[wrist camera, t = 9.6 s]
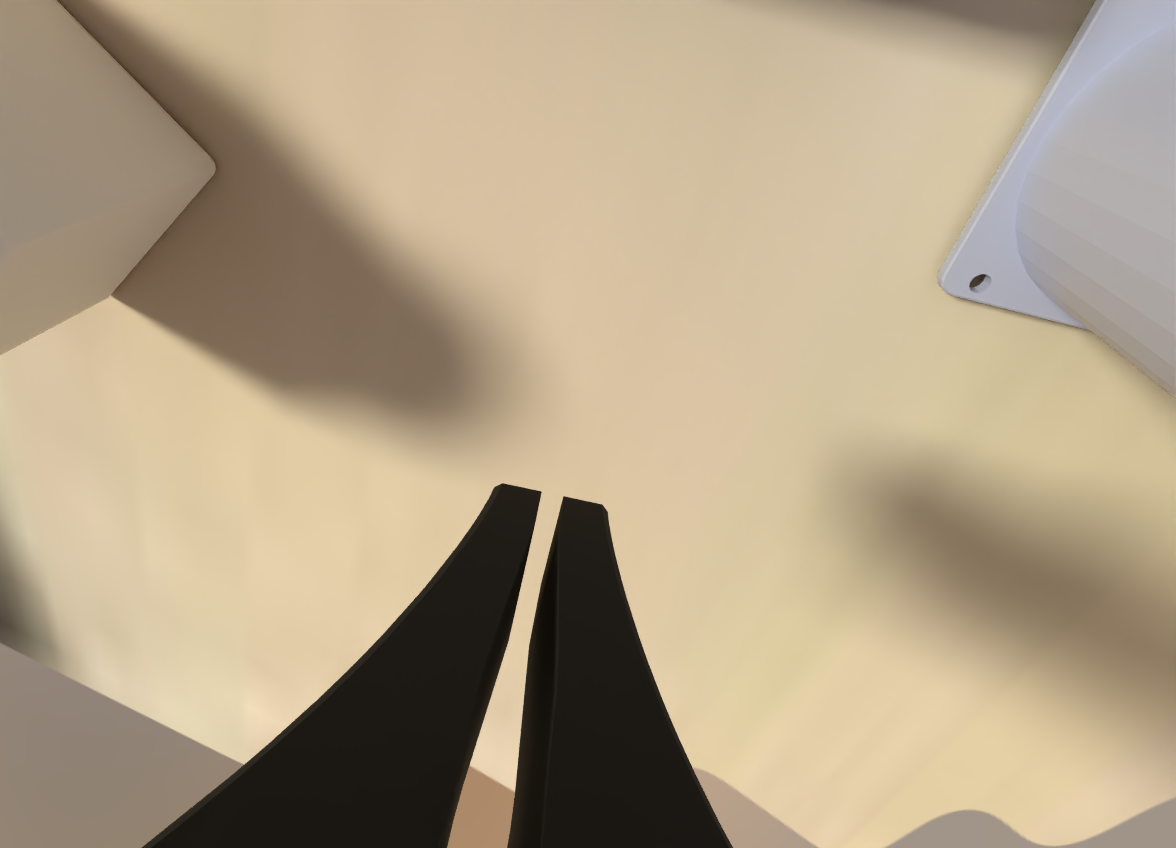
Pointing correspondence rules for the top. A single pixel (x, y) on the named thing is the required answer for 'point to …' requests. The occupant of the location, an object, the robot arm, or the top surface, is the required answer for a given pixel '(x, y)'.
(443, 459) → the top surface
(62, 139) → the medicine bottle
